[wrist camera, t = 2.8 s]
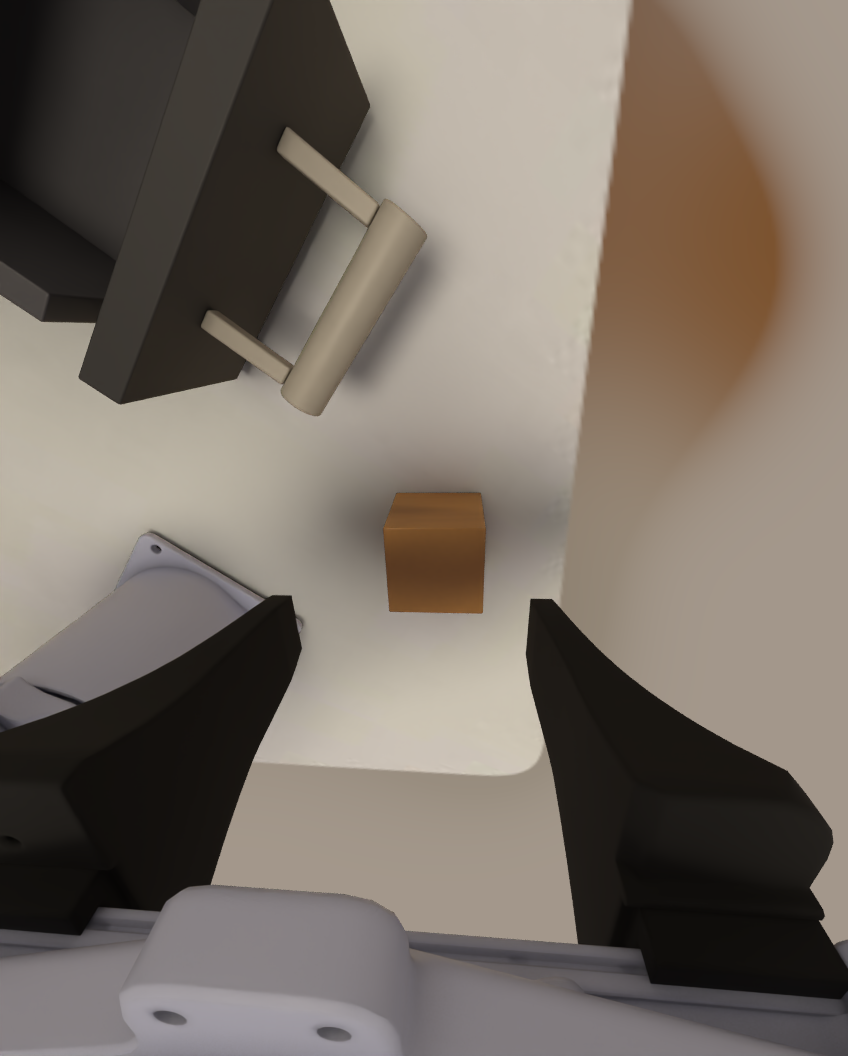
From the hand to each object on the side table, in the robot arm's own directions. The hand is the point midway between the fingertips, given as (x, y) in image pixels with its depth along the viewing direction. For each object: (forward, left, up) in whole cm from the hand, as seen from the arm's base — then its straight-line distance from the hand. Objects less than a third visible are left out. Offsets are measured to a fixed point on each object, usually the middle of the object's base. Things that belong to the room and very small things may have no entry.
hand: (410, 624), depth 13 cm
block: (-1, 0, -9) cm, 9 cm away
